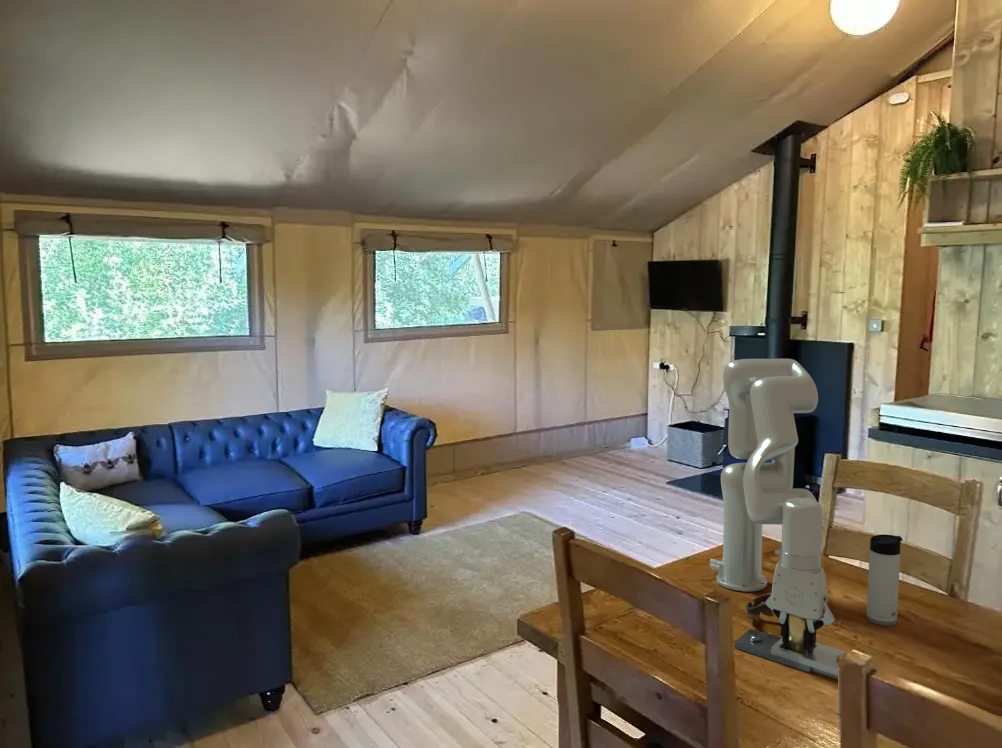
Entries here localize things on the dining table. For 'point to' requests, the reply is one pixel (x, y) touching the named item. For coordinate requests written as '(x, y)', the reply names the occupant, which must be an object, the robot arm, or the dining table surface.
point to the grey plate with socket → (791, 653)
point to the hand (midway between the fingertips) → (798, 643)
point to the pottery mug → (759, 607)
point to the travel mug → (883, 579)
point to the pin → (797, 634)
